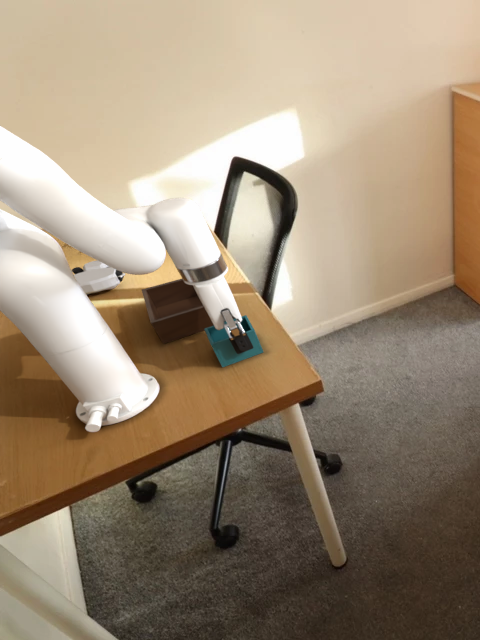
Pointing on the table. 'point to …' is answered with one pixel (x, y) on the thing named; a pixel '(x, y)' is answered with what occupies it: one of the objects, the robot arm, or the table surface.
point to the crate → (175, 310)
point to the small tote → (225, 348)
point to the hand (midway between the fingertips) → (239, 338)
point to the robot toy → (97, 277)
